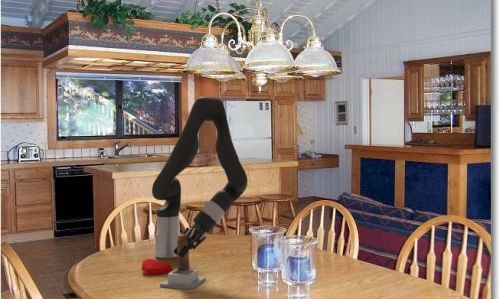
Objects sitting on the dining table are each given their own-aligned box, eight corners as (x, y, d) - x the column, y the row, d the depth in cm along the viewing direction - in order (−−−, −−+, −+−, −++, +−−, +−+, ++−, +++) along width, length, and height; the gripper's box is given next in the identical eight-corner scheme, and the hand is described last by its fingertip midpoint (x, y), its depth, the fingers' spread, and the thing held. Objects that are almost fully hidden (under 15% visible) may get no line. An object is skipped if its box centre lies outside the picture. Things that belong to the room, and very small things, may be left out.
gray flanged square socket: (160, 286, 186) (159, 275, 186) (174, 277, 197) (174, 266, 197) (192, 289, 183) (192, 277, 182) (205, 279, 194) (205, 268, 194)
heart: (160, 282, 198) (174, 272, 207) (160, 271, 197) (175, 262, 206) (132, 273, 202) (147, 264, 211) (133, 263, 201) (148, 254, 210)
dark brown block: (175, 270, 188) (175, 236, 188) (180, 268, 192) (179, 234, 192) (186, 271, 187) (185, 236, 187) (190, 268, 191) (190, 234, 191)
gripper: (194, 207, 199) (163, 244, 194) (210, 212, 187) (177, 251, 181) (207, 220, 202) (177, 257, 196) (224, 226, 189) (193, 265, 184)
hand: (177, 254), depth 189 cm, fingers closed on dark brown block, 4 cm apart
